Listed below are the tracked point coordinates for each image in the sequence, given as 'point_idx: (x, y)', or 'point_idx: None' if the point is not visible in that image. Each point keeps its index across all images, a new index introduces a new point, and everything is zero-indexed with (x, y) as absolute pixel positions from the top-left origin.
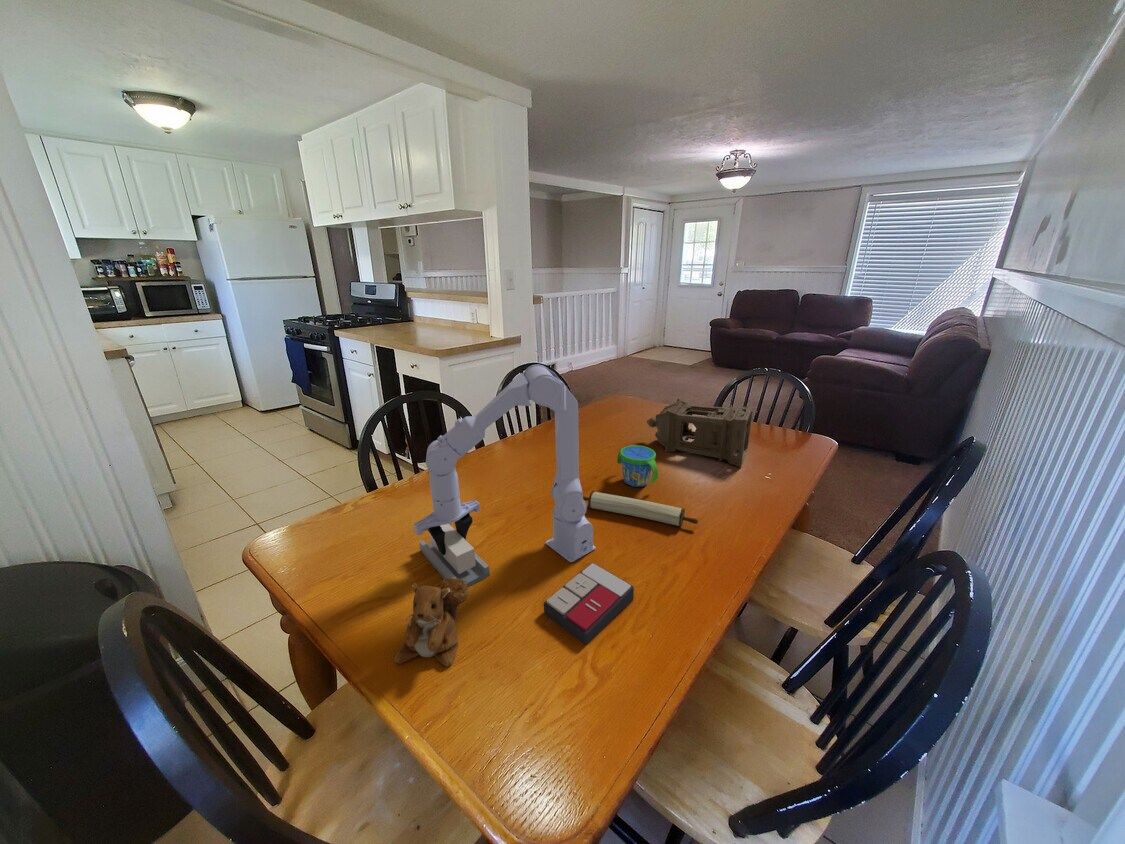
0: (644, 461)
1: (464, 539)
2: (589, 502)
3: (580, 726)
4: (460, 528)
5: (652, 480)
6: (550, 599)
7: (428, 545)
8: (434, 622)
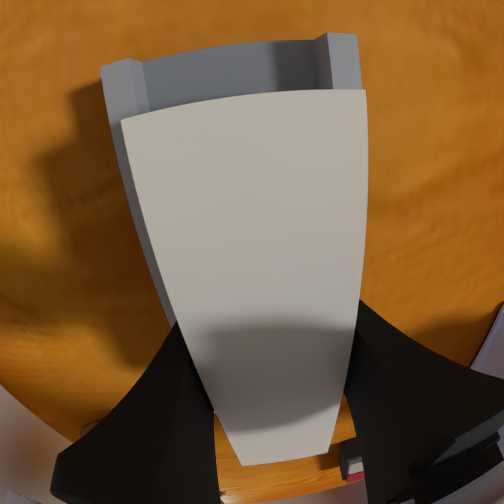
0: None
1: (335, 415)
2: None
3: (270, 492)
4: (365, 429)
5: None
6: (356, 464)
7: (166, 74)
8: None
